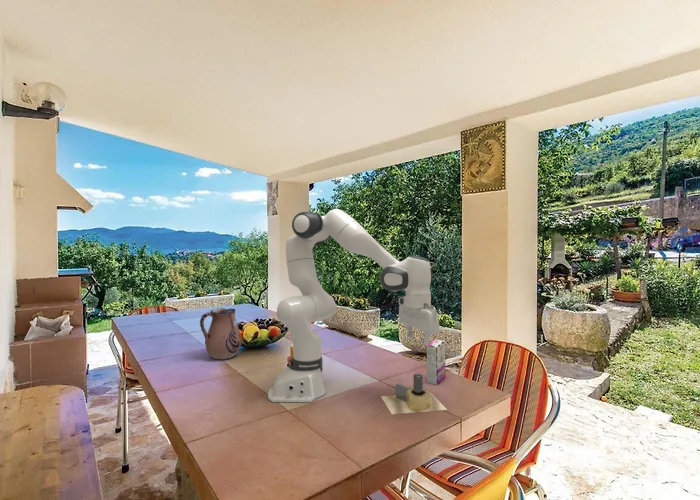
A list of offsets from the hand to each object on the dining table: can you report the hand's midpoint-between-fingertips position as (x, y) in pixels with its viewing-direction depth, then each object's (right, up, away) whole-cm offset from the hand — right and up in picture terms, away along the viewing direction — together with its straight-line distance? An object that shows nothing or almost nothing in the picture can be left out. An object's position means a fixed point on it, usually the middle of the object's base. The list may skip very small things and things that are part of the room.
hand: (417, 340), depth 130 cm
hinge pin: (0, -23, 0) cm, 23 cm away
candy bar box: (+13, -25, +29) cm, 41 cm away
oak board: (-1, -25, +3) cm, 25 cm away
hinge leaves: (0, -23, +3) cm, 24 cm away
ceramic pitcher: (-92, -25, +61) cm, 113 cm away
